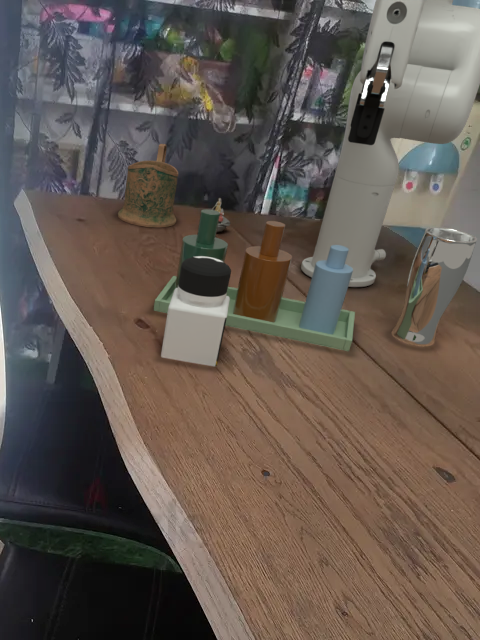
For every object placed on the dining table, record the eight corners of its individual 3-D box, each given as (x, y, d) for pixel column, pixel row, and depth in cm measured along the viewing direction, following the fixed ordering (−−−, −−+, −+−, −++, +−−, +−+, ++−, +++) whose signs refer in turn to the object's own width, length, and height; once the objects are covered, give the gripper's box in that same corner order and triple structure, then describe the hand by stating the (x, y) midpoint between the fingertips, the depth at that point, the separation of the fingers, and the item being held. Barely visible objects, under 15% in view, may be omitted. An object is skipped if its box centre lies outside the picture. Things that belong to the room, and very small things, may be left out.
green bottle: (196, 293, 112) (212, 203, 105) (224, 308, 108) (243, 216, 101) (164, 298, 109) (177, 207, 101) (192, 314, 105) (208, 220, 97)
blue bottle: (314, 319, 108) (337, 240, 101) (341, 332, 105) (366, 251, 98) (291, 325, 105) (313, 243, 98) (318, 338, 102) (342, 255, 95)
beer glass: (436, 336, 108) (476, 232, 99) (437, 354, 103) (480, 246, 94) (387, 326, 110) (423, 223, 101) (386, 343, 104) (424, 235, 95)
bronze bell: (183, 208, 153) (193, 145, 146) (171, 230, 139) (181, 162, 132) (129, 200, 155) (136, 137, 148) (112, 221, 141) (119, 153, 134)
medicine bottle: (215, 370, 92) (235, 275, 85) (159, 360, 93) (174, 265, 86) (219, 347, 98) (238, 257, 91) (166, 338, 99) (181, 248, 91)
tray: (351, 324, 109) (355, 311, 108) (348, 354, 100) (352, 340, 99) (171, 288, 114) (173, 275, 113) (152, 313, 105) (154, 299, 104)
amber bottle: (254, 304, 111) (275, 215, 103) (285, 320, 107) (309, 228, 99) (223, 311, 107) (242, 218, 100) (254, 327, 103) (276, 232, 96)
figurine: (226, 229, 144) (232, 196, 141) (230, 235, 141) (237, 203, 137) (199, 226, 144) (205, 194, 140) (203, 233, 140) (209, 200, 137)
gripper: (447, -26, 76) (392, 154, 86) (437, -28, 89) (390, 128, 99) (373, -34, 77) (327, 144, 88) (374, -35, 90) (334, 120, 101)
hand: (361, 135), depth 93 cm, fingers open, 9 cm apart
